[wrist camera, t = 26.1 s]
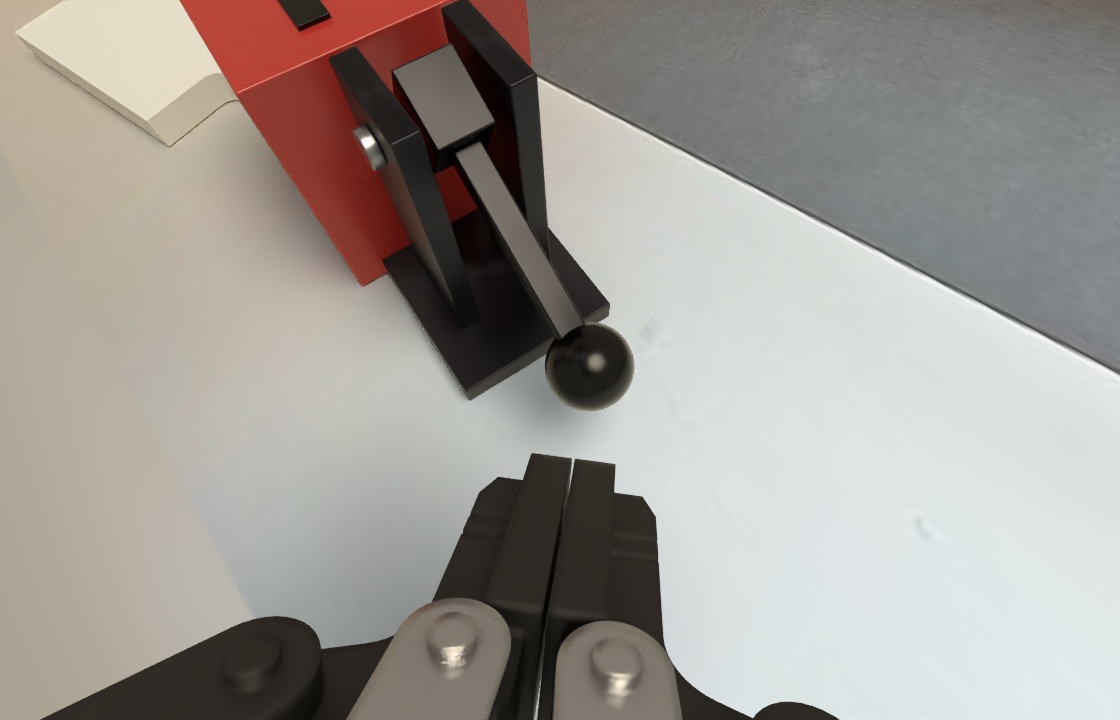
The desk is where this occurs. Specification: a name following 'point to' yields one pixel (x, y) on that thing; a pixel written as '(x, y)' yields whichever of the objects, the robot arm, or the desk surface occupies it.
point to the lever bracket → (467, 243)
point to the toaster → (335, 99)
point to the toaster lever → (511, 227)
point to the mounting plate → (133, 60)
